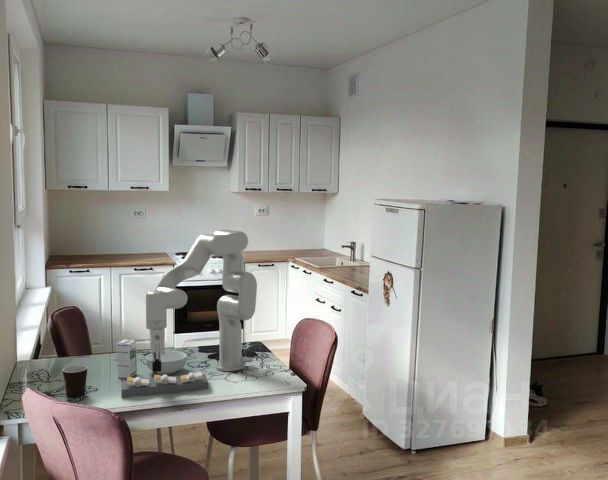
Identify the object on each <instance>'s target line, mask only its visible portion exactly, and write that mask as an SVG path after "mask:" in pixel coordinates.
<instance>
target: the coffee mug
mask: <svg viewBox="0 0 608 480" xmlns="http://www.w3.org/2000/svg"><path fill="white" fill-rule="evenodd" d="M62 374H63V375H62V376H63V381H64V388H65V395H66V398H68V399H69V398H70V399H77V398H82V397H83V396H85V395H86V384H87V377H88V366H86V365H82V364H76V365H74V364H73V365H69V366H67V367H64V368H62Z"/></svg>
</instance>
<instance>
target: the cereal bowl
mask: <svg viewBox="0 0 608 480" xmlns="http://www.w3.org/2000/svg"><path fill="white" fill-rule="evenodd" d="M187 355H188V354H187V353H186V352H183V351H179V350H165V354H164V355H163V354H161V371H160V372H156V374H157V375H160V376H163V375H165V374H166V375H167V376H169V375H173V374H175V373H176V372H179V371H181V370H182V369H184V367H185V366H186V363H187V359H188V357H187ZM152 361H153V355H152V354H151V352H150V353H149V354H147V355H146V357H145V363H146V366H147V368H148V369H149V370H150V371H151V372H153V370H152Z"/></svg>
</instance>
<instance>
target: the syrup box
mask: <svg viewBox="0 0 608 480" xmlns="http://www.w3.org/2000/svg"><path fill="white" fill-rule="evenodd" d="M115 345H116V367H117V369H116V371H117V374H116V375H117V378H121V379H127V377H134V376H135V375H137V373H138V372H137V370H138V369H137V346H136V345H137V344H136V340H135V339H122V340H121V341H119V342H117V343H116V344H115Z"/></svg>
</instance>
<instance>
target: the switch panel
mask: <svg viewBox="0 0 608 480" xmlns="http://www.w3.org/2000/svg"><path fill="white" fill-rule="evenodd" d="M202 375H203V378H199V379H195V381H194V382H191V381H187V382H183V383H182V380H181V376H182V375H176V376H174V375H173V377H176V383H168V384H163V382H155V380H154V377H153V378H152V377H151V378H148V379H149V386H145V385H141V386H139V387H137V386H135V385H132V384H127V380H121V386H120V387H121V392H120V393H121V396H120V397H121V398H123V399H124V398H132V397H134V398H135V397H144V396H152V395H153V396H154V395H164V394H174V393H185V392H195V391H197V392H198V391H206V390H207V391H208V390H209V380H208V377H207V375H206V373H202Z"/></svg>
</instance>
